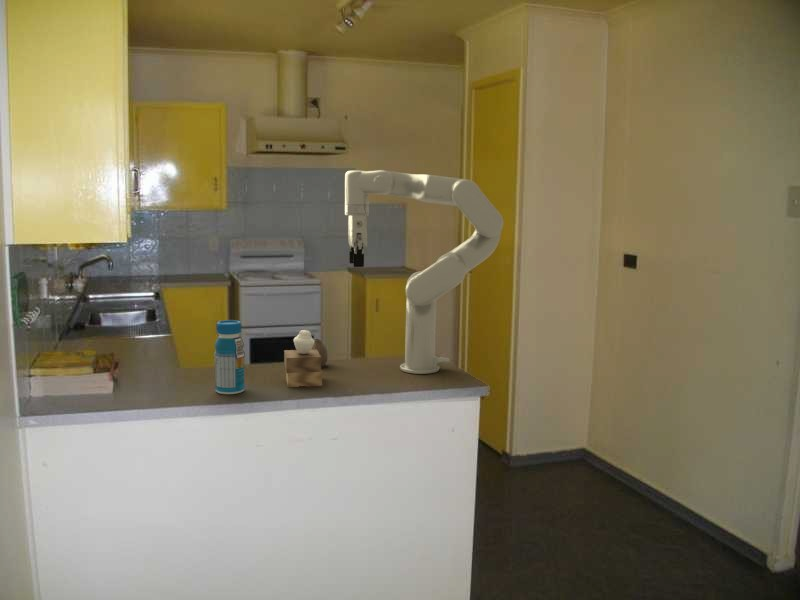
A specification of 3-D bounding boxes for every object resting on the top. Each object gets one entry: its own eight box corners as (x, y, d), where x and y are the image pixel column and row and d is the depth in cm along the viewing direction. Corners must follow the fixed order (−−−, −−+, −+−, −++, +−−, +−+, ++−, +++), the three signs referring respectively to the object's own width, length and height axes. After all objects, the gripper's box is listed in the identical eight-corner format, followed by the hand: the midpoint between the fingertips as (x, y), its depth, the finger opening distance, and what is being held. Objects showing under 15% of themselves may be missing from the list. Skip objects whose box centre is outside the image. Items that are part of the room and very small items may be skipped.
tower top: (317, 363, 232) (317, 349, 231) (320, 371, 222) (320, 356, 221) (284, 364, 230) (284, 350, 229) (286, 373, 220) (286, 358, 219)
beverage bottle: (217, 396, 210) (216, 325, 207) (212, 388, 218) (211, 320, 215) (248, 393, 214) (247, 323, 210) (241, 385, 221) (240, 318, 218)
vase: (324, 369, 242) (324, 342, 241) (303, 367, 243) (303, 341, 242) (330, 364, 249) (330, 338, 247) (310, 362, 250) (310, 336, 249)
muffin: (313, 351, 229) (316, 329, 228) (312, 356, 223) (314, 332, 222) (293, 349, 228) (296, 326, 227) (291, 353, 222) (293, 330, 221)
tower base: (318, 378, 233) (318, 363, 232) (322, 386, 223) (322, 371, 222) (285, 379, 230) (285, 364, 230) (287, 388, 221) (287, 373, 220)
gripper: (373, 211, 229) (372, 268, 232) (364, 209, 246) (364, 262, 248) (348, 211, 228) (348, 268, 230) (341, 209, 244) (341, 262, 247)
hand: (356, 265), depth 239 cm, fingers open, 9 cm apart
